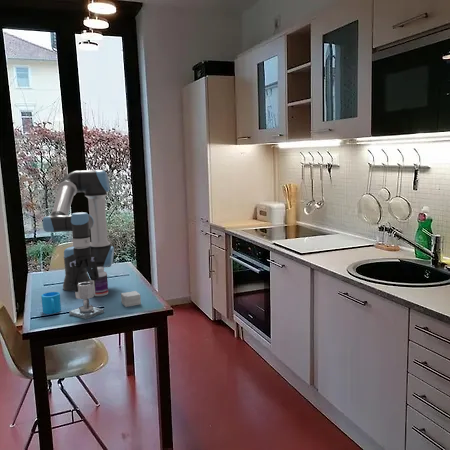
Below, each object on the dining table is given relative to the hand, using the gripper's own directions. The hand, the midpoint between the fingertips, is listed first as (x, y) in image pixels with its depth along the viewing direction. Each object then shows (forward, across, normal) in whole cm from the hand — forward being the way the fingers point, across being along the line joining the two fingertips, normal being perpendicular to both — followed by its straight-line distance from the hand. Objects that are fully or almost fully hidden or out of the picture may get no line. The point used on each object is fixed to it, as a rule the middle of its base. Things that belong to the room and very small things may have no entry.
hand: (85, 296), depth 207 cm
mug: (+9, -7, +16) cm, 19 cm away
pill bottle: (+8, +23, +18) cm, 30 cm away
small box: (+9, +21, -7) cm, 24 cm away
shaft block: (+8, 0, 0) cm, 8 cm away
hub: (0, 0, 0) cm, 0 cm away
